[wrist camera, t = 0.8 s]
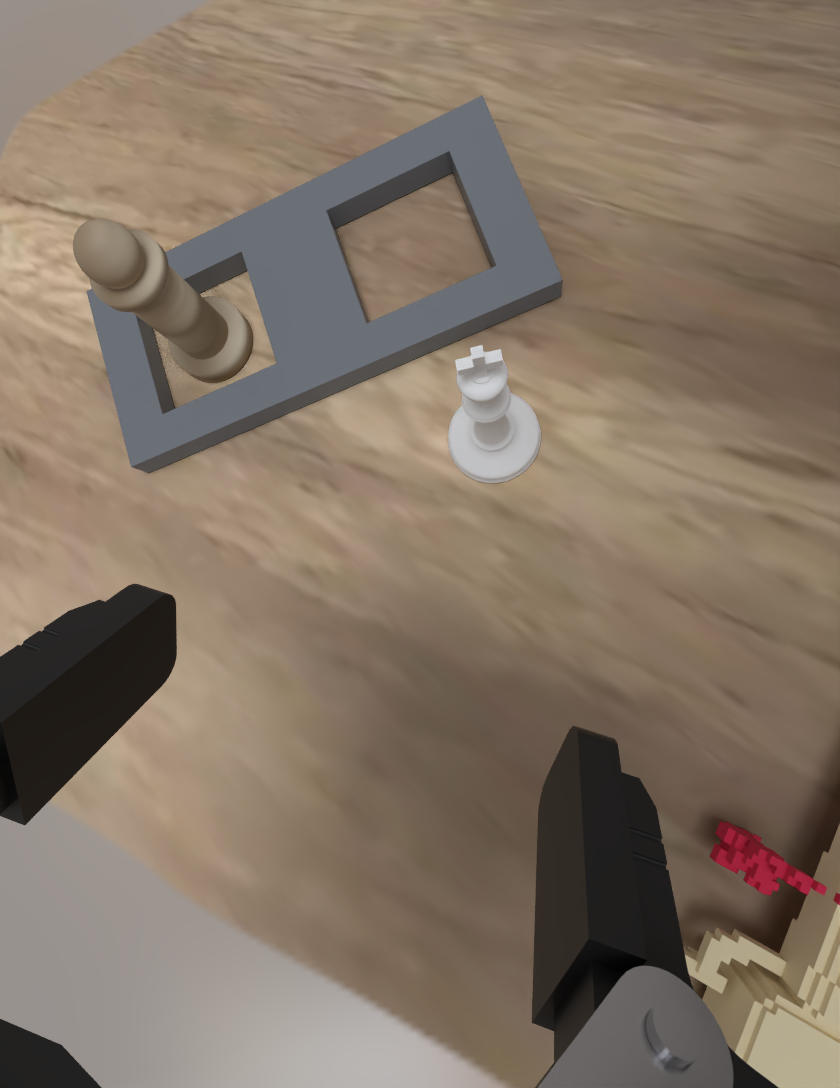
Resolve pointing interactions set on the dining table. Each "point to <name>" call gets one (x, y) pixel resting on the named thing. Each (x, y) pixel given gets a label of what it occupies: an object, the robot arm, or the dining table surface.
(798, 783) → the dining table surface
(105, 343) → the grey chess piece holder
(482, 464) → the chess piece
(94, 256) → the pawn
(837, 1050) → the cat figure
